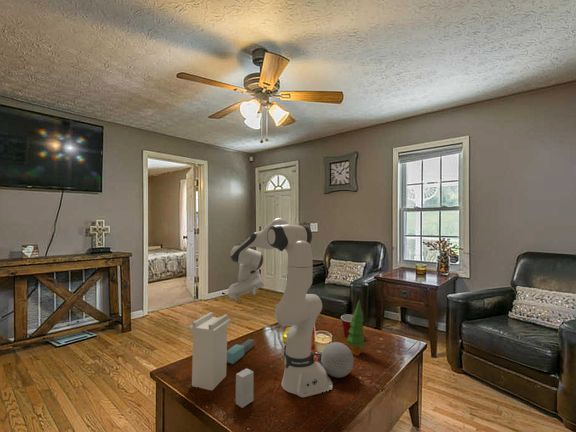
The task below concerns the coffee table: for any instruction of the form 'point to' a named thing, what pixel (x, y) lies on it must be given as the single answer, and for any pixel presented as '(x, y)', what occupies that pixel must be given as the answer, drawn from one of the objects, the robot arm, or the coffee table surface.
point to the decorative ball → (337, 359)
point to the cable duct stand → (209, 350)
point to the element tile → (285, 334)
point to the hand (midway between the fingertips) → (245, 297)
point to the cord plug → (239, 351)
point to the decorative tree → (356, 330)
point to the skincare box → (244, 387)
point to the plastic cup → (346, 323)
